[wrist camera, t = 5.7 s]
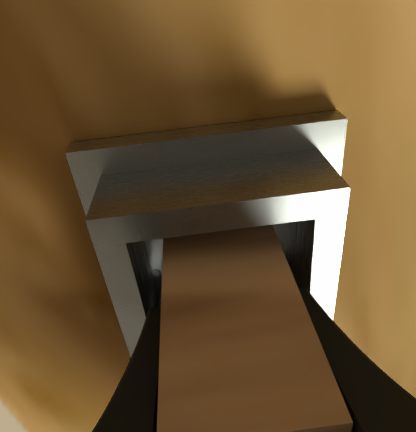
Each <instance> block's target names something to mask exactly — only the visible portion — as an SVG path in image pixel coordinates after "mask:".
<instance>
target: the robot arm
mask: <svg viewBox="0 0 416 432" xmlns="http://www.w3.org/2000/svg"><path fill="white" fill-rule="evenodd" d="M299 291H300V294H301V296H302V299H303V301H304V304H305V306H306V309H307V311H308V313H309V316H310V318H311V321H312V323H313V326H314V328H315V331H316V333H317V335H318V338H319V340H320V343H321V345H322V348H323V350H324V353H325V355H326V357H327V360H328V362H329V365H330V367H331V370H332V372H333V375H334V377H335V379H336V382H337V384H338V387H339V389H340V392H341V394H342V397H343V399H344V402H345V404H346V406H347V409H348V411H349V414H350V416H351V419H352V421H353V426H352V431H351V432H416V398H415V397H413V396H412V395H411V394H410V393H408V392H407V391H406V390H405V389H403V388H402V387H401V386H400V385H398V384H397V383H396V382H395V381H394V380H393V379H391V378H390V377H389V376H388V375H387V374H386V373H385V372H383V371H382V370H381V369H380V368H379V367H378V366H377V365H376V364H375V363H374V362H373V361H371V360H370V359H369V358H368V357H367V356H366V355H365V354H364V353H363V352H362V351H361V350H360V349H359V348H358V347H357V346H356V345H355V344H354V343H353V342H352V341H351V340H350V339H349V338H348V336H347V335H346V334H345V333H344V332H343V331H342V330H341V329H340V328H339V327H338V326H337V325H336V324H335V322H334V321H333V320H332V319H331V318H330V317H329V316H328V314H327V313H326V312H325V311H324V310H323V308H322V307H321V306H320V305H319V304H318V302H317V301H316V300H315V299H314V297H313V296H312V295H311V294H310V292H309V291H308V290H307V289H306V288H302V289H299ZM160 320H161V307H155V308H150V309H149V310H148V312H147V316H146V319H145V322H144V326H143V328H142V331H141V334H140V337H139V339H138V342H137V345H136V347H135V349H134V352H133V354H132V356H131V359H130V361H129V363H128V366H127V368H126V370H125V372H124V374H123V376H122V378H121V380H120V382H119V384H118V386H117V388H116V390H115V392H114V394H113V396H112V398H111V400H110V402H109V404H108V405H107V407H106V409H105V411H104V413H103V414H102V416H101V418H100V419H99V421H98V423H97V425H96V426H95V428H94V429H93V431H92V432H157V411H158V380H159V350H160Z"/></svg>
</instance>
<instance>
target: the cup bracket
mask: <svg viewBox="0 0 416 432" xmlns="http://www.w3.org/2000/svg"><path fill="white" fill-rule="evenodd" d="M346 127H347V118H346V117H345V116H344V115H342V114H341V113H340V112H339V111H338V110H333V111H325V112H317V113H309V114H300V115H292V116H284V117H276V118H267V119H259V120H251V121H243V122H234V123H226V124H218V125H210V126H201V127H193V128H185V129H177V130H168V131H160V132H152V133H144V134H136V135H127V136H119V137H111V138H103V139H94V140H86V141H78V142H71V144H70V145H69V147H68V149H67V151H66V152H65V155H66V158H67V161H68V164H69V167H70V170H71V173H72V176H73V179H74V182H75V185H76V188H77V191H78V194H79V197H80V200H81V203H82V206H83V209H84V212H85V216H86V219H85V222H86V225H87V228H88V231H89V234H90V237H91V240H92V243H93V246H94V249H95V252H96V255H97V258H98V261H99V264H100V267H101V270H102V273H103V276H104V279H105V282H106V285H107V288H108V291H109V294H110V297H111V300H112V303H113V306H114V309H115V312H116V315H117V318H118V321H119V324H120V327H121V330H122V333H123V336H124V339H125V342H126V345H127V348H128V351H129V354H130V359H131V356H132V354H133V352H134V349H135V347H136V345H137V342H138V339H139V337H140V334H141V331H142V328H143V326H144V322H145V319H146V316H147V312H148V310H149V309H150V308H155V307H161V289H162V259H163V238H170V237H178V236H186V235H194V234H202V233H210V232H218V231H226V230H234V229H241V228H249V227H257V226H265V225H273V228H274V230H275V233H276V235H277V238H278V240H279V242H280V245H281V247H282V250H283V252H284V255H285V257H286V260H287V262H288V264H289V267H290V269H291V272H292V274H293V277H294V279H295V282H296V284H297V286H298V289H302V288H306V289H307V290H308V291H309V292H310V294H311V295H312V296H313V297H314V299H315V300H316V301H317V302H318V304H319V305H320V306H321V307H322V308H323V310H324V311H325V312H326V313H327V314H328V316H329V317H330V318H331V319H332V320H333V317H334V310H335V302H336V294H337V286H338V279H339V271H340V263H341V256H342V248H343V240H344V232H345V225H346V217H347V209H348V202H349V194H350V187H349V185H348V184H347V183H346V182H345V181H344V179H343V178H342V177H341V172H342V163H343V154H344V145H345V136H346Z"/></svg>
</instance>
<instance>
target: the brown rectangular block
mask: <svg viewBox="0 0 416 432" xmlns="http://www.w3.org/2000/svg"><path fill="white" fill-rule="evenodd" d="M352 426H353V421H352V419H351V416H350V414H349V411H348V409H347V406H346V404H345V402H344V399H343V397H342V394H341V392H340V389H339V387H338V384H337V382H336V379H335V377H334V375H333V372H332V370H331V367H330V365H329V362H328V360H327V357H326V355H325V353H324V350H323V348H322V345H321V343H320V340H319V338H318V335H317V333H316V331H315V328H314V326H313V323H312V321H311V318H310V316H309V313H308V311H307V309H306V306H305V304H304V301H303V299H302V296H301V294H300V291H299V289H298V286H297V284H296V282H295V279H294V277H293V274H292V272H291V269H290V267H289V264H288V262H287V260H286V257H285V255H284V252H283V250H282V247H281V245H280V242H279V240H278V238H277V235H276V233H275V230H274V228H273V225H265V226H257V227H249V228H241V229H234V230H226V231H218V232H210V233H202V234H194V235H186V236H178V237H170V238H163V259H162V289H161V320H160V350H159V380H158V411H157V432H351V431H352Z"/></svg>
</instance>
